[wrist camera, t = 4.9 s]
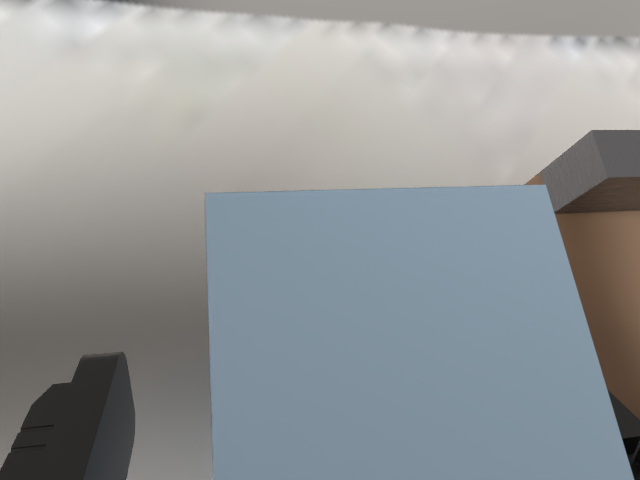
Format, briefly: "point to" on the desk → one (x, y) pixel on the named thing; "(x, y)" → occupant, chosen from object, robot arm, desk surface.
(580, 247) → the brown wooden tray
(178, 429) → the desk surface
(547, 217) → the pale blue box
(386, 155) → the desk surface
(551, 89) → the desk surface
